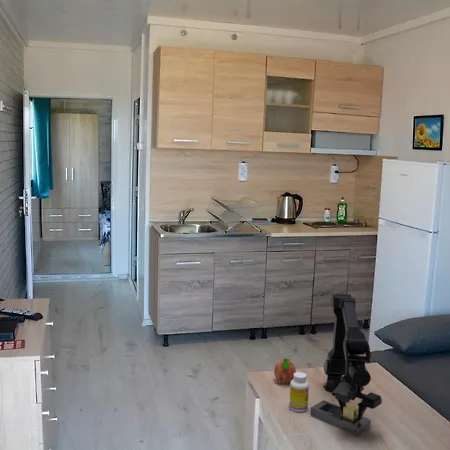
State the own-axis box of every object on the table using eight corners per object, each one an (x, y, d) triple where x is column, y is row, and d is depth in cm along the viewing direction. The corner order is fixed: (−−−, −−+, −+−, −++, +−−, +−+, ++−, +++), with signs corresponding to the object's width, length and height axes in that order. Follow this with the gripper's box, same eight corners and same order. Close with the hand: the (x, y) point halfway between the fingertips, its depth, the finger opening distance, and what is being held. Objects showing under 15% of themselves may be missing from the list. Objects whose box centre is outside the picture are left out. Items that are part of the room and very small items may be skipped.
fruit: (271, 384, 210) (272, 360, 208) (277, 375, 219) (278, 352, 217) (292, 388, 207) (293, 364, 206) (297, 378, 216) (298, 355, 214)
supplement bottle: (307, 413, 188) (308, 379, 186) (288, 411, 189) (290, 377, 187) (308, 405, 194) (309, 371, 192) (290, 402, 195) (291, 370, 193)
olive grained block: (348, 422, 183) (349, 403, 182) (358, 426, 180) (359, 407, 179) (342, 426, 180) (343, 406, 179) (352, 430, 177) (353, 411, 176)
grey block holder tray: (323, 407, 192) (323, 400, 192) (370, 427, 179) (370, 419, 179) (310, 415, 186) (310, 407, 186) (358, 436, 173) (358, 428, 173)
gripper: (316, 371, 178) (314, 414, 180) (366, 390, 165) (363, 436, 167) (335, 362, 186) (332, 403, 188) (384, 379, 173) (380, 423, 175)
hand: (351, 416), depth 179 cm, fingers open, 6 cm apart
